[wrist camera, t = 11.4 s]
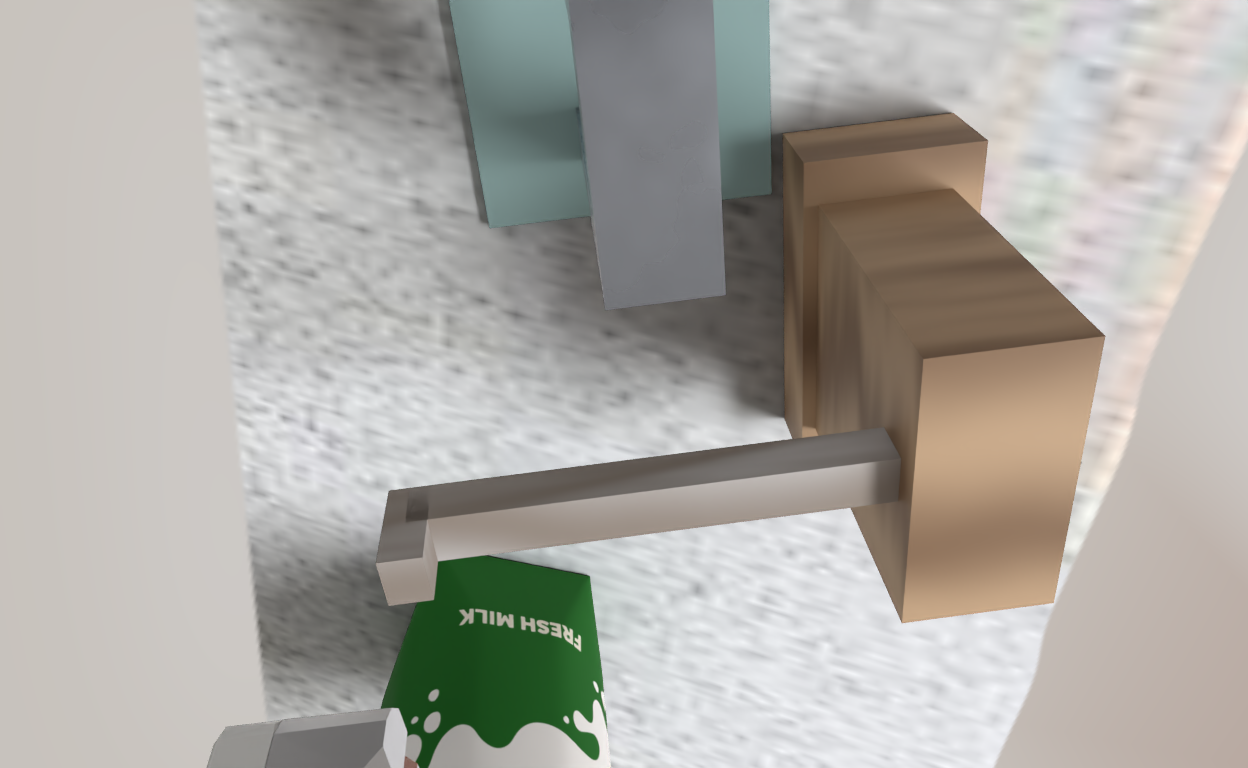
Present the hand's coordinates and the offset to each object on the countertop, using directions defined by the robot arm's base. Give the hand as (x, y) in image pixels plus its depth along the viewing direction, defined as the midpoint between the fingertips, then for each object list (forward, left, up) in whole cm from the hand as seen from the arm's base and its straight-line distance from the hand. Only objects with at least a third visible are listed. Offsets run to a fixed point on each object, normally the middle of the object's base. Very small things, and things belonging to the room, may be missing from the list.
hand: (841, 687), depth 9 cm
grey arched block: (0, 0, -26) cm, 26 cm away
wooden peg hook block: (+10, +2, -27) cm, 29 cm away
